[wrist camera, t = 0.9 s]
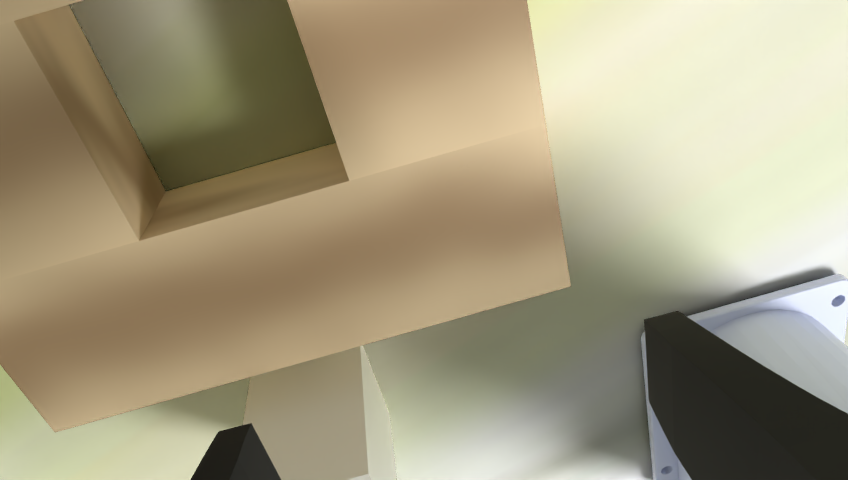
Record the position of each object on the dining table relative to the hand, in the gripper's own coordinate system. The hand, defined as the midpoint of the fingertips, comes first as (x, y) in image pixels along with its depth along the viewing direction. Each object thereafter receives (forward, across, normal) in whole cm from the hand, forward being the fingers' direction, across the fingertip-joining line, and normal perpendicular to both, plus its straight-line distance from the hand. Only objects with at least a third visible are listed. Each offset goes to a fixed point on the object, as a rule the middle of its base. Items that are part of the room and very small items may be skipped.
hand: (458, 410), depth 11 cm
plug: (+10, +5, +7) cm, 13 cm away
